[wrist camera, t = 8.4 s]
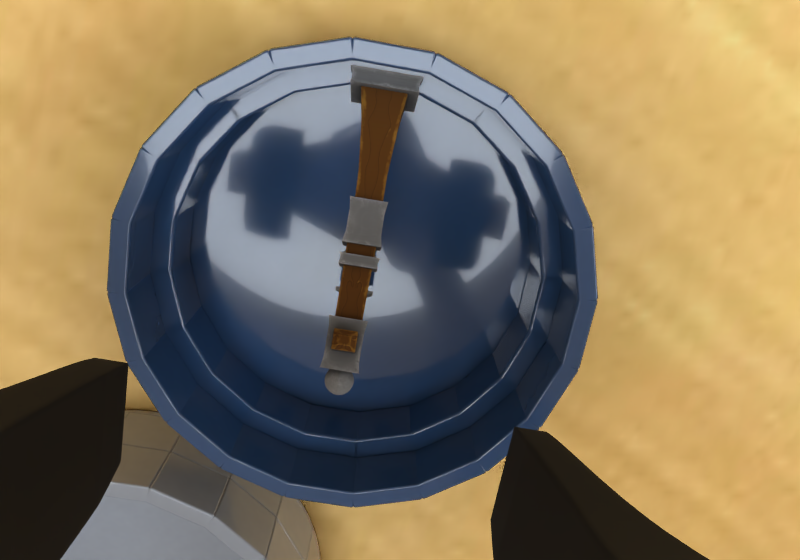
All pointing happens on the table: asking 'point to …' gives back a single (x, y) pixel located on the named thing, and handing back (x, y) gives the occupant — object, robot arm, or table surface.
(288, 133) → the bowl
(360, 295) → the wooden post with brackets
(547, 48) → the table surface
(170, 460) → the grey cake pan
